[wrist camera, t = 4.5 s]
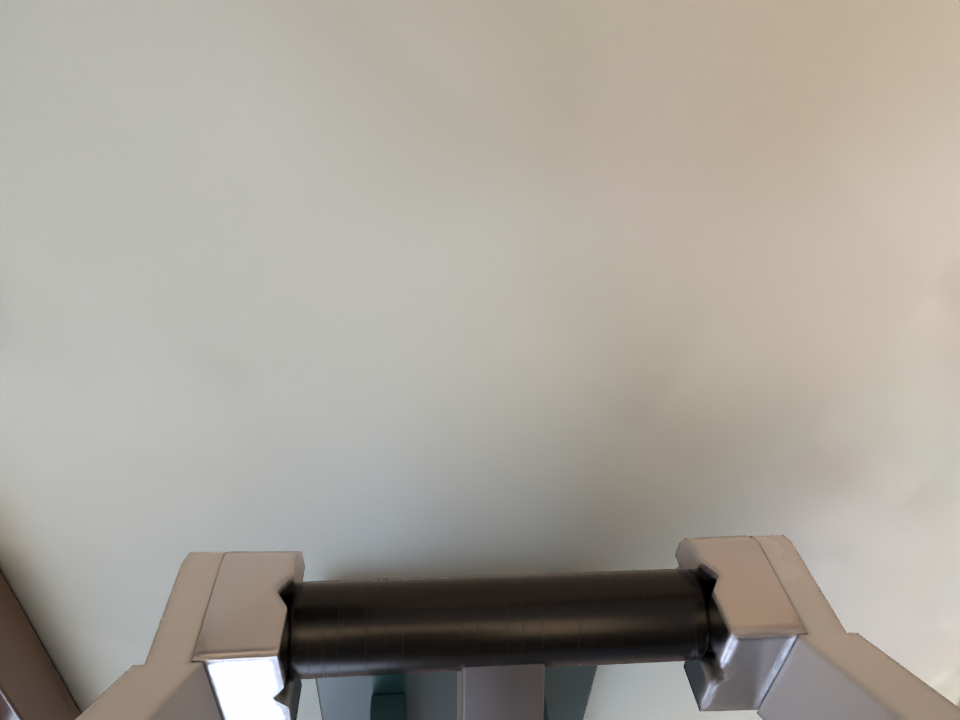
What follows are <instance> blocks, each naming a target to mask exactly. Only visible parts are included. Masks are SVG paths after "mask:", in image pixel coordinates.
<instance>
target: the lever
mask: <svg viewBox="0 0 960 720" xmlns="http://www.w3.org/2000/svg"><path fill="white" fill-rule="evenodd" d="M289 620H290V636H289V663H288V668H289V672H290V675H291V677H293V678H295V679H314V678H335V677H356V676H377V675H398V674H419V673H439V672H457V720H543V708H544V675H545V667H565V666H586V665H607V664H628V663H649V662H670V661H691V660H699V659H700V658H702V657H703V656H704V655H705V654H706V652H707V650H708V646H709V641H710V640H709V618H708V611H707V602H706V598H705V595H704V592H703V589H702V587H701V585H700V583H699V581H698V579H697V578H696V577H695V576H694V575H693V574H692V573H691V572H690V571H688V570H686V569H660V570H631V571H602V572H573V573H543V574H514V575H485V576H456V577H426V578H397V579H368V580H339V581H309V582H301V583H299V584H298V586H297V588H296V591H295V592H294V594H293V596H292V599H291V603H290V609H289Z"/></svg>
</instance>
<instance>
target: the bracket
mask: <svg viewBox="0 0 960 720" xmlns="http://www.w3.org/2000/svg"><path fill="white" fill-rule="evenodd" d="M596 668H597V665H586V666H565V667H545V675H544V708H543V720H583V717H584V713H585V709H586V706H587V702H588V698H589V694H590V691H591V687H592V683H593V679H594V676H595V672H596ZM315 679H316V685H317V691H318V697H319V703H320V709H321V715H322V720H457V672H439V673H419V674H398V675H377V676H356V677H335V678H315Z"/></svg>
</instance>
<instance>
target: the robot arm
mask: <svg viewBox="0 0 960 720" xmlns="http://www.w3.org/2000/svg"><path fill="white" fill-rule="evenodd" d="M675 555H676V558H677V560H678V563H679V565H680V566H679V567H678V568H676V569H686V570H688V571H690V572H691V573H692V574H693V575H694V576H695V577H696V578H697V579H698V581H699V583H700V585H701V587H702V589H703V592H704V595H705V598H706V602H707V611H708V618H709V640H710V641H709V646H708V650H707V652H706V654H705V655H704V656H703V657H702V658H700V659H699V660H691V661H685V664H684V669H685V672H686V674H687V677H688V680H689V683H690V686H691V688H692V691H693V694H694V697H695V699H696V702H697V705H698V708H699V710H700V711H727V710H758V712H757V713H758V715H759V716H760V717H761V718H762V719H763V720H960V708H958V707H957V706H956V705H954V704H953V703H952V702H950V701H949V700H948V699H946V698H945V697H944V696H942V695H941V694H939V693H938V692H937V691H935V690H934V689H933V688H931V687H930V686H929V685H927V684H926V683H924V682H923V681H922V680H920V679H919V678H918V677H916V676H915V675H914V674H912V673H911V672H910V671H908V670H907V669H905V668H904V667H903V666H901V665H900V664H899V663H897V662H896V661H895V660H893V659H892V658H890V657H889V656H888V655H886V654H885V653H884V652H882V651H881V650H880V649H878V648H877V647H876V646H874V645H873V644H871V643H870V642H869V641H867V640H866V639H865V638H863V637H862V636H861V635H859V634H858V633H847V632H846V631H845V629H844V628H843V626H842V624H841V623H840V621H839V619H838V618H837V616H836V614H835V613H834V611H833V609H832V608H831V606H830V604H829V603H828V601H827V600H826V598H825V596H824V595H823V593H822V591H821V590H820V588H819V586H818V585H817V583H816V581H815V580H814V578H813V576H812V575H811V573H810V571H809V570H808V568H807V567H806V565H805V563H804V562H803V560H802V558H801V557H800V555H799V553H798V552H797V550H796V548H795V547H794V545H793V543H792V542H791V541H790V540H789V539H788V538H787V537H785V536H784V535H770V536H749V537H748V536H724V537H702V538H685V539H684V540H682V541H681V542H680V543H679V546H678V548H677V551H676V554H675ZM304 570H305V564H304V559H303V554H302V552H300V551H267V552H191V553H189V554H188V556H187V557H186V558H185V560H184V561H183V562H182V564H181V566H180V569H179V572H178V574H177V577H176V580H175V583H174V585H173V588H172V591H171V594H170V596H169V599H168V602H167V604H166V607H165V610H164V613H163V615H162V618H161V621H160V623H159V626H158V629H157V632H156V634H155V637H154V640H153V643H152V645H151V648H150V651H149V653H148V656H147V659H146V662H145V664H144V665H133V666H131V667H130V668H129V669H128V670H127V671H126V672H125V673H124V674H123V675H122V676H121V677H120V678H119V679H118V680H117V681H115V682H114V683H113V684H112V685H111V686H110V687H109V688H108V689H107V690H106V691H105V692H104V693H103V694H102V695H101V696H99V697H98V698H97V699H96V700H95V701H94V702H93V703H92V704H91V705H90V706H89V707H88V708H87V709H86V710H85V711H84V712H82V713H81V714H80V715H79V716H78V717H77V718H76V719H75V720H296V718H297V712H298V706H299V699H300V693H301V686H302V684H301V679H295V678H293V677H291V675H290V672H289V668H288V663H289V636H290V620H289V609H290V603H291V599H292V596H293V594H294V592H295V591H296V588H297V586H298V584H299V583H301V582H303V576H304Z"/></svg>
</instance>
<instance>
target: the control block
mask: <svg viewBox="0 0 960 720" xmlns="http://www.w3.org/2000/svg"><path fill="white" fill-rule="evenodd" d="M80 714H81V713H80V711H79V710H78V708H77V706H76V704H75V703H74V701H73V699H72V697H71V695H70V694H69V692H68V690H67V688H66V687H65V685H64V683H63V681H62V680H61V678H60V676H59V674H58V672H57V671H56V669H55V667H54V665H53V664H52V662H51V660H50V658H49V657H48V655H47V653H46V651H45V649H44V648H43V646H42V644H41V642H40V641H39V639H38V637H37V635H36V634H35V632H34V630H33V628H32V626H31V625H30V623H29V621H28V619H27V618H26V616H25V614H24V612H23V611H22V609H21V607H20V605H19V603H18V602H17V600H16V598H15V596H14V595H13V593H12V591H11V589H10V588H9V586H8V584H7V582H6V580H5V579H4V577H3V575H2V573H1V572H0V720H75V719H76V718H77V717H78V716H79V715H80Z"/></svg>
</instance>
